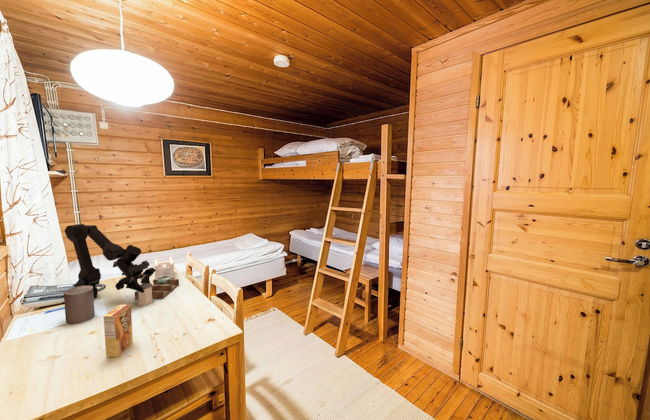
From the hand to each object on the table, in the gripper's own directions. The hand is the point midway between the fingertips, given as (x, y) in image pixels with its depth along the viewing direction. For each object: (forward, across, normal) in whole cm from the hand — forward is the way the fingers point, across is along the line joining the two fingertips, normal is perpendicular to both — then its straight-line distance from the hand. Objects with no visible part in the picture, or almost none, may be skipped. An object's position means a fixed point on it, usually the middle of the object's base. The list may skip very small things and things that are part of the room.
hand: (147, 290), depth 134 cm
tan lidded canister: (+4, 0, +6) cm, 7 cm away
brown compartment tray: (0, +14, +10) cm, 17 cm away
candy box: (+20, -34, -10) cm, 40 cm away
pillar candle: (-7, -19, +17) cm, 26 cm away
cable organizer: (-10, +34, +20) cm, 41 cm away
